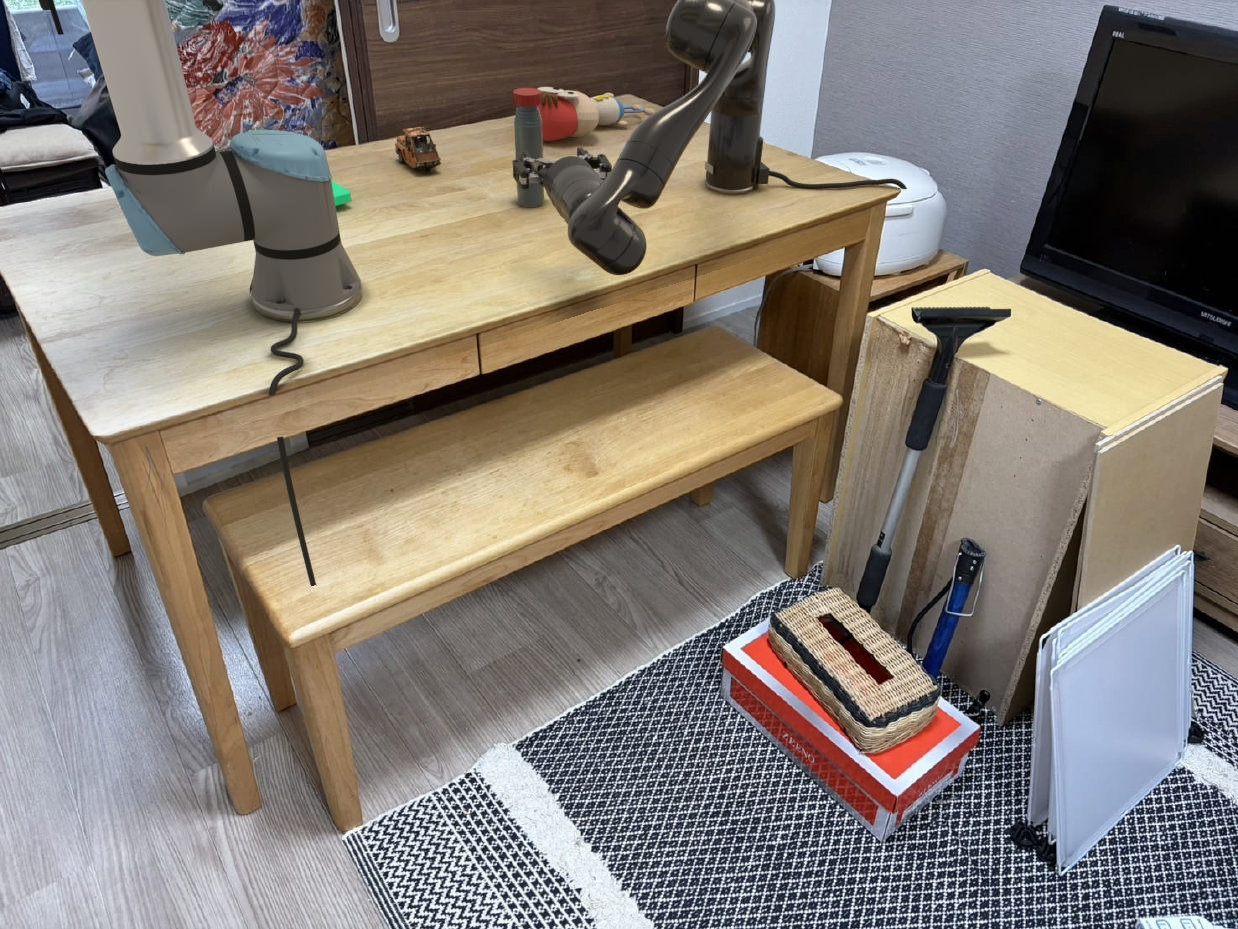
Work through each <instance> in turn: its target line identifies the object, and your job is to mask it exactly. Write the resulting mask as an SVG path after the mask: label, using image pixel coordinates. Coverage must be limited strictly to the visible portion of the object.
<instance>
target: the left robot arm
mask: <svg viewBox="0 0 1238 929" xmlns="http://www.w3.org/2000/svg"><path fill="white" fill-rule="evenodd" d="M81 2H82V6H83V10H84V13H85V16H86V19H87V23H88V26H89V30H90V33H91V37H92V39H93V43H94V44H93V45H94V47H95V50H96V53H97V58H98V60H99V63H100V67H101V70H102V74H103V77H104V81H105V84H106V87H107V92H108V93H109V98H110V101H111V104H112V107H113V112H114V115H115V118H116V122H117V125H118V128H119V131H120V138H119V139H118V141H117V142H116V144H115V145H114V147H113V148H112V155H113V159H114V162H115V164H113V163H112V164H111V165H110V166H108V167H106V168H105V170H104V173H105V175H106V177H107V180H108V182H109V184H110V187H111V189H112V191H113V193H114V195H115V197H116V200H117V202H118V205H119V206H120V209H121V211H122V213H123V215H124V218H125V219H126V222H127V224H128V227H129V229H130V230H131V232H132V234H133V235H132V236H133V237H134V239H135V240H136V243H137V245H138V247H139V248H140V249H141V251H143V252H144V253H145V254H147V255H149V256H151V257H162V256H164V257H165V256H171V255H178V254H179V255H185V254H186V253H191V252H197V251H203V250H208V249H213V248H218V247H224V246H228V245H234V244H235V245H236V244H240V243H245V242H251V241H252V242H253V247H254V251H255V258H254V264H253V273H252V279H251V282H250V285H249V294H250V295H251V299H252V303H253V307H254V309H255V310H256V311H257V313H259V314H260V315H262V316H264V317H266V318H268V319H271V320H275V321H281V322H289V323H291V327H290V329H291V330H290V334H289V336H287V337H286V338H284V339H282V340H279V341H277V342H274V343H273V344H272V345H271V346H270V352H271V354H272V355H274V356H276V357H280V358H285V359H292V360H295V361H296V363H294V364H292V365H289V366H288V367H286V368H284V369H282V370H281V371H279V372H278V373H277V374H276V375H275V376H274V377H273V379H271V380H272V381H271V383H270V386H269V390H268V395H269V396H274V395H276V393H277V389H278V386H279V384H280V382H281V380H282V379H283V378H284V377H286V376H288V375H290V374H292V373H294V372H296V371H299V369H301V368H303V366H304V364H305V360H304V358H303V356H302V355H300V354H298V353H295V352H290V351H283V350H280V348H282V347H285V346H288V345H290V344H291V343H293V342H294V341H295V340H296V338H297V335H298V325H299V323H304V322H314V321H315V322H316V321H320V320H326V319H330V318H332V317H336V316H338V315H341V314H343V313H345V312H348V311H349V310H351V309H353V308H354V307H355V306H356V305H357V304H358V303H359V302H360V301H361V298H362V297H363V287H362V282H361V278H360V276H359V274H358V272H357V270H356V268H355V266H354V264H353V263H352V261H351V259H350V257H349V255H348V253H347V251H346V250H345V248H344V245H343V243H342V239H341V233H340V225H339V220H338V214H337V207H336V206H335V201H334V195H333V188H332V182H331V181H333V174H332V172H331V169H330V166H329V161H328V158H327V154H326V151H325V149H324V147H323V145H322V144H321V143H320V142H318V141H317V140H315V139H314V138H312V137H310V136H308V135H304V134H301V133H297V132H292V131H287V130H278V129H277V130H276V129H254V130H247V131H243V132H241V133H239V132H238V133H237V134H235V135H233V137H231V139H230V144H229V147H230V149H228V150H220V151H216V148H215V144H214V140H213V138H211V137H210V136H209V135H207V134H206V133H204V132H203V131H201V130H200V129H199V128H198V127H197V124H196V121H195V115H194V112H193V108H192V104H191V99H190V96H189V91H188V87H187V83H186V79H185V76H184V72H183V67H182V62H181V59H180V55H179V51H178V50H179V49H178V48H177V41H176V39H175V35H174V30H173V26H172V22H171V17H170V15H169V14H170V13H169V10H168V6H167V2H166V0H81ZM38 4H39V6H40V8H41V9H42V11H50V14H51V18H52V20H53V23H54V26H55V29H56V30H55V31H56V32H57V35H58V36H61V35H65V34H64V30H63V27H62V24H61V20H60V18H59V14H58V12H57V8H56V5H55V2H54V0H38ZM276 440H277V446H278V452H279V457H280V463H281V468H282V473H283V477H284V481H285V486H286V492H287V495H288V499H289V503H290V508H291V512H292V517H293V522H294V525H295V529H296V533H297V537H298V541H299V545H300V550H301V553H302V557H303V561H304V566H305V570H306V573H307V577H308V582H309V585H311V586H314V585H316V586H317V582H316V579H315V573H314V568H313V565H312V562H311V557H310V554H309V549H308V545H307V542H306V536H305V533H304V528H303V525H302V520H301V517H300V512H299V507H298V503H297V498H296V494H295V489H294V484H293V481H292V480H293V479H292V475H291V470H290V464H289V459H288V455H287V450H286V444H285V439H284V436H276ZM311 586H310V587H311Z"/></svg>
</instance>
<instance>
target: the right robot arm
mask: <svg viewBox="0 0 1238 929" xmlns="http://www.w3.org/2000/svg"><path fill="white" fill-rule="evenodd" d="M775 19H776V2H775V0H677V1H676V3H675V4H674V6H673V7H672V10H671V12H670V14H669V16H668V18H667V23H666V28H665V34H664V36H665V45H666V48H667V50H668V51H669V53H670V54H671V55H673V57H674V58H676V59H677V60H680V61H681V62H683V63H684V64H687V65H689V66H691V67H693V68H695V69H696V70H699V71H701V72H703V73H705V74H706V75H705V76H704V78H703V79H702V80H701V81H700V82H699V83H698V84H697V85H696V86H695V87H694V88H693V89H692V90H690V91H689V92H687V93H686V94H684V95H683V96H682V97H680V98H678V99H676V100H675V101H673V102H671V103H669V104H668V105H666V106H664V107H662V108H660V109H658V110H657V111H655V113H653V114H651V115H650V116H647V117H646V118H645V119H643V120H642V121H641V122H640V123H639V124H638V125H637V126H636V127H634V130H633V131H632V132H631V133H630V136H629V137H628V138H627V140H626V143H625V144H624V146H623V148H622V150H621V152H620V153H619V156H618V158H617V160H616V161H615V164H614V165H613V166H612V163H611V162H610V160H609V159H608V157H607V156H606V155H605V154H603V153H599V154H597V156H594V154H593V153H590V152H589V151H588V150H586V149H584V148H583V147H582V146H581V147H580V146H579V147H577V148H576V156H574V155H569V156H568V155H567V156H564V157H561V158H559V159H557V160H556V159H554V160H550V159H547V158H544V157H543V158H539V159H532V157H531V155H530V154H529V152H528V151H523V154H520V160H517V159H516V158H515V159H512V161H511V163H512V178H513V179H514V181H515V182H516V184H517V183H518V185H519V186H520V187H521V189H525V190H526V189H529V186H530V184H531V183H539V185H541V186H543V187H544V191H545V192H546V194H547V196H548V198H549V200H550V201H551V203H552V205H553V207H554V208H555V210H556V211H557V213H558V214H559V216H560V217H561V218H562V219H563V220H564V221H565V223H566V224H567V237H568V240H569V242H570V243H571V245H572V246H573V247H574V248H575V249H577V250H578V251H579V252H581V254H583V256H585V257H587V258H588V259H589V260H591V261H592V262H593V263H594V264H596V265H597V266H598V267H599V268H601V269H602V270H603V271H605V272H606V273H608V274H610V275H612V276H613V275H614V276H625V275H628V274H630V273H632V272H634V271H635V270H637V269H638V268H639V267H640V265H641V264H642V262H643V261H644V259H645V256H646V253H647V247H648V246H647V238H646V235H645V233H644V230H642V228H641V227H640V226H639V225H638V224H637V223H636V222H635V221H634V220H633V219H632V218H631V217H630V216H629V215H628V214H627V213H626V212H625V211H623V210H622V208H621V207H619V204H620V203H621V202H622V203H625V204H626V205H629V206H631V207H634V208H636V209H642V210H646V209H647V210H648V209H650V208H653V206H654V205H656V204H657V202H658V200H659V199H660V197H661V195H662V193H663V191H664V189H665V188H666V185H667V183H668V182H669V180H670V178H671V176H672V174H673V172H674V170H675V168H676V166H677V165H678V162H679V161H680V159H681V158H682V155H683V154H684V151H685V150H686V148H687V147H688V145H689V144H690V142H691V141H692V139H693V138H694V136H695V135H696V133H697V132H698V131H699V129H700V128H701V127H702V125H703V123H705V120H706V119H707V118H708V116H709V115H710V122H709V135H708V147H707V158H706V159H707V160H705V161H704V162H705V163H704V169H705V170H706V171H705V179H704V186H705V187H706V188H707V189H708V190H709V191H711V192H715V193H719V194H724V195H743V194H748V193H750V192H752V191H757V190H758V189H759V186H760V185H768V184H769V177H773V178H777V179H780V180H782V181H783V182H784V183H786V184H787V185H788V186H790V187H793V188H797V189H804V190H825V189H845V188H855V187H860V186H861V187H862V186H878V185H887V184H888V185H889V184H891V185H896V186H897V187H898V188H900V190H907V189H908V188H907V186H906V184H905V183H904V182H902V181H901V180H899V179H896V178H881V179H865V180H864V179H863V180H855V181H854V180H853V181H847V182H828V183H826V182H825V183H802V182H797V181H794V180H791V179H790V178H789V177H788V176H786V175H785V174H783V173H781V172H777V171H774V170H770V167H769V166H767V165H766V164H765V163H763V162H762V156H763V148H764V138H763V137H762V136H761V129H762V128H761V127H762V118H763V110H764V109H763V108H764V101H765V92H766V83H767V73H768V65H769V57H770V51H771V45H772V40H773V39H772V38H773V34H774V28H775V27H774V26H775V21H776V20H775ZM748 53H750V57H749V59H747V60H746V61H745V59H746V57H747V55H748ZM532 165H533V166H534V172H533V171H532Z"/></svg>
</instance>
